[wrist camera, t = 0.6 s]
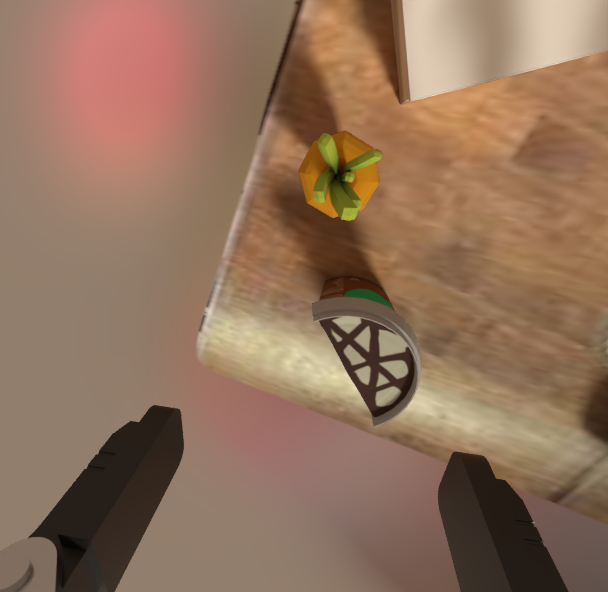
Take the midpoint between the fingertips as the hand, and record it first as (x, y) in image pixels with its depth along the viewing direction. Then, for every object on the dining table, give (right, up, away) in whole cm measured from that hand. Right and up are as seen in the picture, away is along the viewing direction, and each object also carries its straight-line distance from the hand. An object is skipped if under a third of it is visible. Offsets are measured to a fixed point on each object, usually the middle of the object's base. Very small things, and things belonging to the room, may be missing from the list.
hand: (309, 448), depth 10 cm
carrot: (+3, +16, +19) cm, 25 cm away
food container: (+7, +4, +25) cm, 26 cm away
